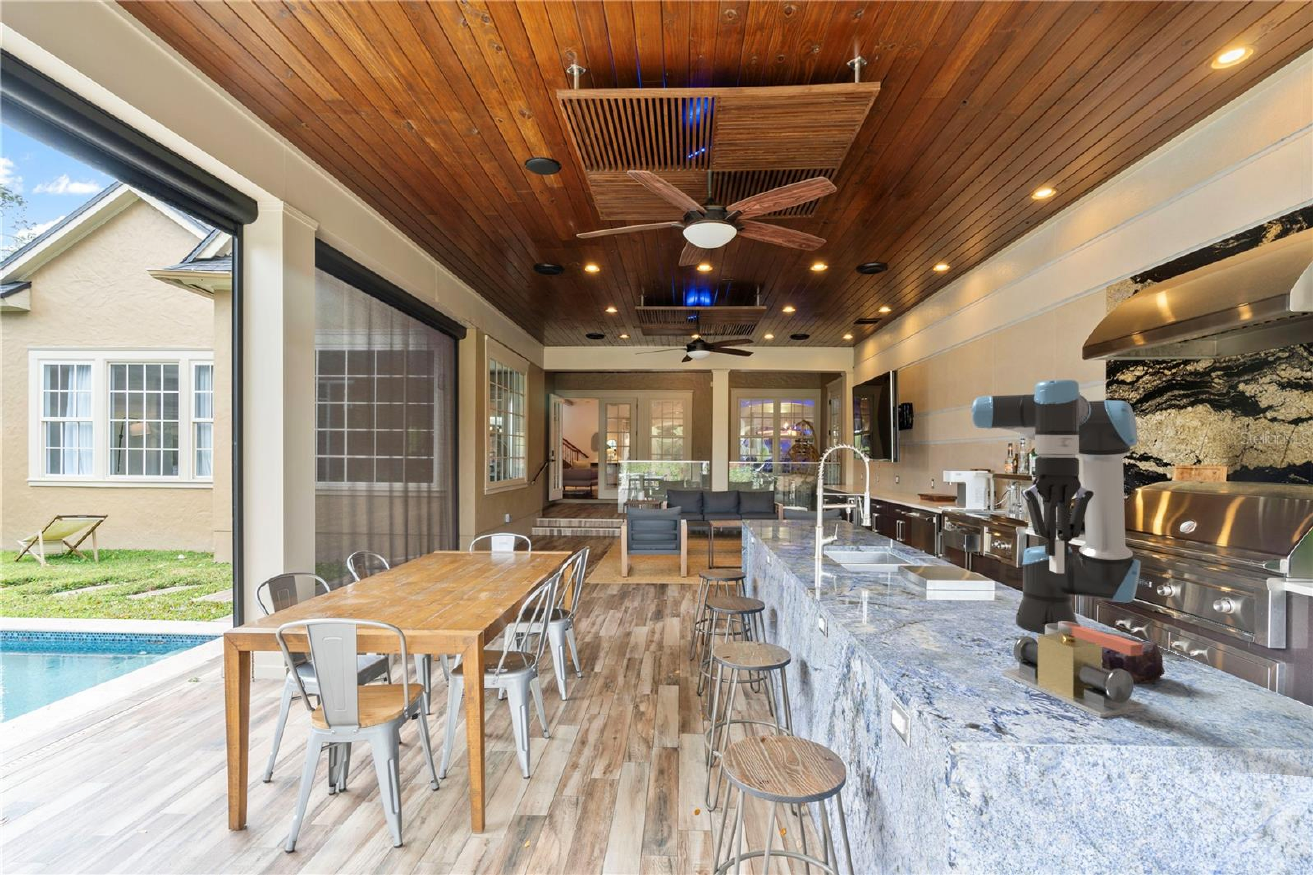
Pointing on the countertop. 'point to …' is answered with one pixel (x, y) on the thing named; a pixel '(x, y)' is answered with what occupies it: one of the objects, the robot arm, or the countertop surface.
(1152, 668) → the rock
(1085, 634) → the lever
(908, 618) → the countertop surface
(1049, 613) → the robot arm
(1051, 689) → the valve
